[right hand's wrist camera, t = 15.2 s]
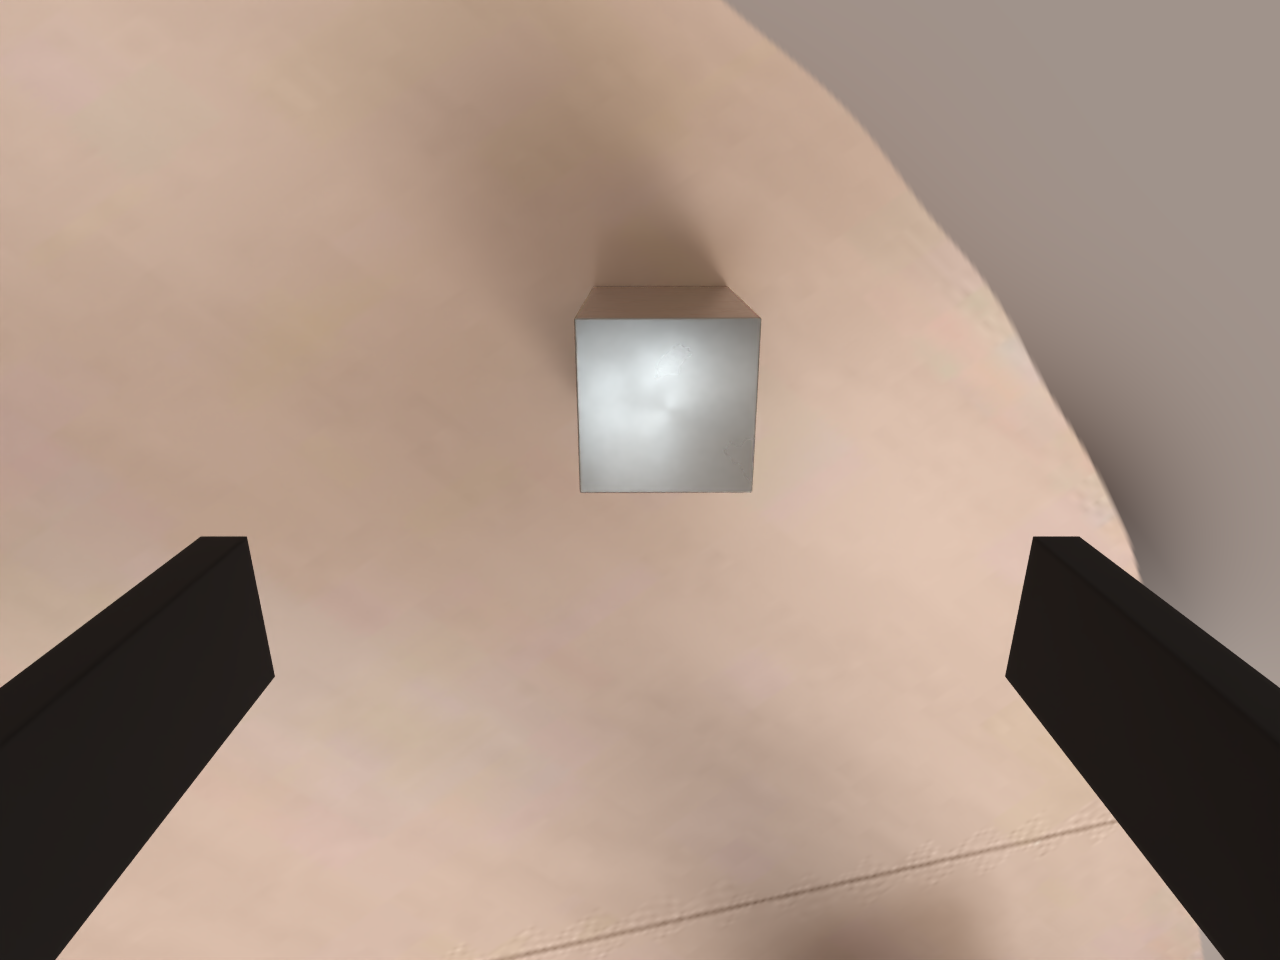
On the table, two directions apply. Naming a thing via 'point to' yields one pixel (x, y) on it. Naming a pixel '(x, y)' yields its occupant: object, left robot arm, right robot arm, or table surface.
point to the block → (666, 390)
